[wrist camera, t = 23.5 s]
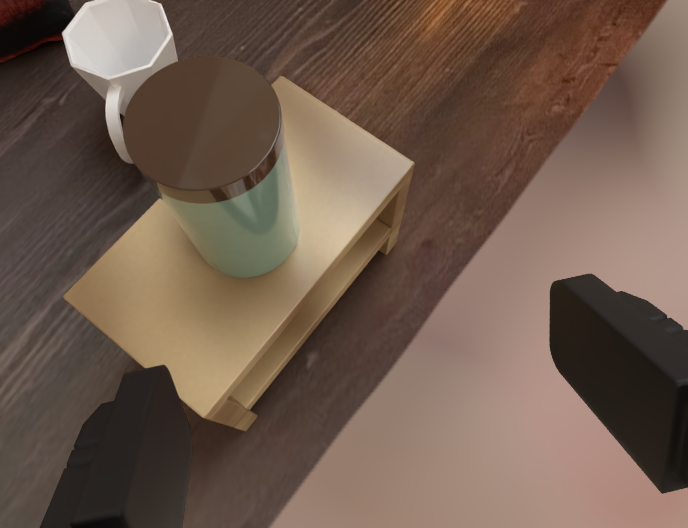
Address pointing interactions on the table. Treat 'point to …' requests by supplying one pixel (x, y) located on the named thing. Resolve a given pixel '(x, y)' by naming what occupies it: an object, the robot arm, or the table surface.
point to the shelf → (255, 292)
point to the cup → (119, 52)
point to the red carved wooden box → (31, 24)
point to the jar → (217, 161)
